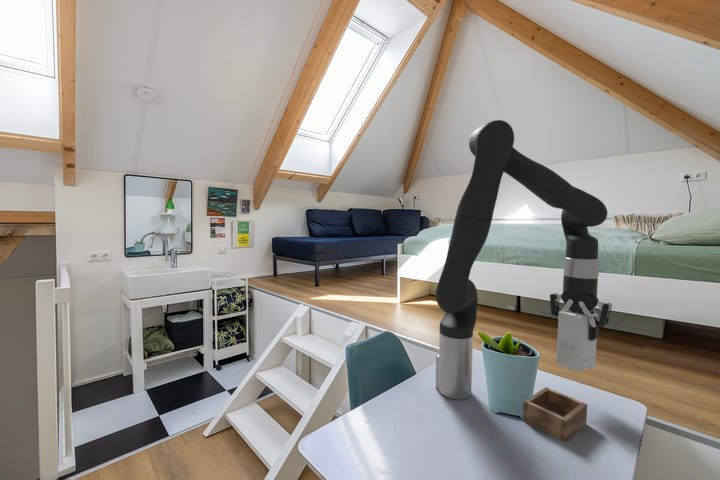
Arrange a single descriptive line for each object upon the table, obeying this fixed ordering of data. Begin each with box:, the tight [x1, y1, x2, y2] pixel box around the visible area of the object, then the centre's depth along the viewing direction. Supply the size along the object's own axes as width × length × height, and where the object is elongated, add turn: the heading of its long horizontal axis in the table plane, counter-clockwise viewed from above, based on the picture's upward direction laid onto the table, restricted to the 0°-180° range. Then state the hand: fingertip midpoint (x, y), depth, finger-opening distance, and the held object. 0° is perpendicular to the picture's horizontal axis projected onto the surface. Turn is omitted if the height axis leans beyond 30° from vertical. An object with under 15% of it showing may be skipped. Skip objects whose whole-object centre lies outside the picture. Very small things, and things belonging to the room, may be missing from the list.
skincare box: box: [555, 310, 599, 373], centre depth 84 cm, size 8×6×15 cm
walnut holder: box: [522, 386, 588, 444], centre depth 77 cm, size 10×12×5 cm
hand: (577, 335), depth 84 cm, fingers closed on skincare box, 6 cm apart
